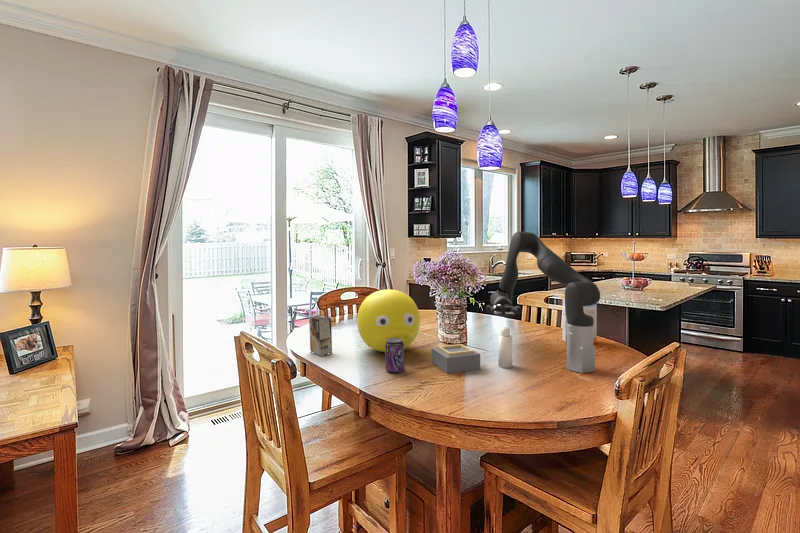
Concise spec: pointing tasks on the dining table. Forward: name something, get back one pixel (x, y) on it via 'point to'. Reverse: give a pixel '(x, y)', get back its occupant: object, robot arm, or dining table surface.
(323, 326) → the coffee box
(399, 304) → the head sculpture
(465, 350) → the display riser
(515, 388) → the dining table surface
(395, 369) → the beverage can
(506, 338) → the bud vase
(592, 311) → the cracker box
